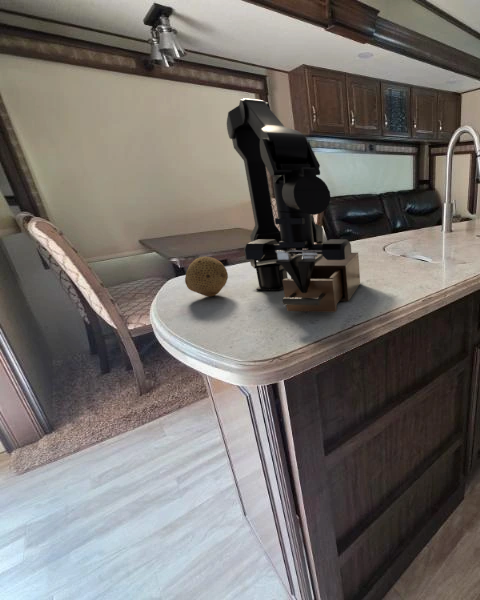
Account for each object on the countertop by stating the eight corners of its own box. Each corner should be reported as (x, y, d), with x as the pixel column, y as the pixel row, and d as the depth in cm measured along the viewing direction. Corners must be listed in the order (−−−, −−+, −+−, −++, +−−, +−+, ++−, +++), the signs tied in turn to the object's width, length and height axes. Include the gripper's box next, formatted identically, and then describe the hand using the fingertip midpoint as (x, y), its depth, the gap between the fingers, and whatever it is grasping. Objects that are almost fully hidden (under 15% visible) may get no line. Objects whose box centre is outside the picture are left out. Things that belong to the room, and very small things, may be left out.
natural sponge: (236, 296, 78) (228, 257, 74) (195, 306, 72) (183, 263, 69) (226, 288, 84) (218, 251, 80) (187, 296, 78) (177, 257, 75)
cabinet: (348, 301, 73) (345, 265, 70) (300, 300, 74) (295, 265, 71) (360, 283, 86) (358, 252, 83) (318, 283, 87) (315, 252, 84)
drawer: (328, 321, 61) (325, 288, 58) (276, 320, 62) (271, 287, 59) (349, 292, 77) (347, 264, 74) (308, 291, 78) (304, 264, 75)
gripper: (354, 206, 63) (359, 280, 69) (265, 207, 65) (277, 279, 71) (340, 211, 53) (347, 298, 59) (234, 212, 55) (251, 297, 60)
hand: (304, 292), depth 62 cm, fingers closed
